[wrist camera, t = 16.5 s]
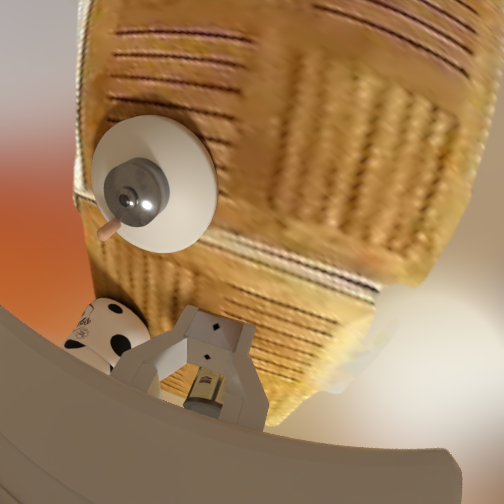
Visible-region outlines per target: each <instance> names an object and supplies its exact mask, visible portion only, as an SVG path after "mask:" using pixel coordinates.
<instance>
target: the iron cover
mask: <svg viewBox="0 0 504 504" xmlns="http://www.w3.org/2000/svg"><path fill="white" fill-rule="evenodd" d="M104 197H105V201H106V204H107V206H108V208H109V210H110V211H111V213H112V214H113V215H114V216H115V217H116V218H117V219H118V220H119V221H120V222H122V223H124V224H125V225H128V226H131V227H143V226H146V225H147V224H149V223H150V222H151V221H152V220H153V219H154V218H155V217H157V216H158V215H159V214H160V213H161V212H162V211H163V210H164V209H165V208H166V206H167V204H168V201H169V197H170V188H169V183H168V180H167V178H166V176H165V174H164V172H163V171H162V169H161V168H160V167H159V166H158V165H157V164H156V163H154V162H153V161H151V160H149V159H146V158H141V157H136V158H132V159H130V160H128V161H126V162H124V163H122V164H120V165H118V166H116V167H115V168H113V169H112V170H111V171H110V172H109V173H108V174H107V176H106V178H105V181H104Z"/></svg>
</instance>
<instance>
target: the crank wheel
mask: <svg viewBox="0 0 504 504" xmlns="http://www.w3.org/2000/svg"><path fill="white" fill-rule="evenodd" d="M136 157H141V158H146V159H149V160H151V161H153V162H154V163H156V164H157V165H158V166H159V167H160V168H161V169H162V171H163V172H164V174H165V176H166V178H167V180H168V183H169V188H170V197H169V201H168V204H167V206H166V208H165V209H164V210H163V211H162V212H161V213H160V214H159V215H158V216H157V217H155V218H154V219H153V220H152V221H151V222H150V223H149V224H147V225H146V226H143V227H131V226H128V225H125V224H124V223H122V222H120V221H119V220H118V219H117V218H116V217H115V216H114V215H113V214H112V213H111V211H110V210H109V208H108V206H107V204H106V201H105V197H104V181H105V178H106V176H107V174H108V173H109V172H110V171H111V170H112V169H113V168H115V167H116V166H118V165H120V164H122V163H124V162H126V161H128V160H130V159H132V158H136ZM91 181H92V188H93V193H94V196H95V199H96V202H97V204H98V206H99V209H100V210H101V212H102V214H103V216H104V217H105V219H106V220H107V222H108V223H106V224H105V225H104V226H103V227H101V228H100V229H99V230H98V231H97V236H98V238H99V239H100V240H102V241H106V240H107V239H108V238H109V237H110V236H111V235H113V234H114V233H115V232H117V233H118V234H119V235H120V236H122V237H123V238H124V239H125V240H127V241H128V242H130V243H131V244H133V245H135V246H137V247H139V248H142V249H144V250H148V251H151V252H157V253H170V252H176V251H180V250H182V249H185V248H187V247H189V246H190V245H192V244H193V243H194V242H195V241H197V240H198V239H199V238H200V236H201V235H202V234H203V233H204V231H205V230H206V229H207V227H208V226H209V224H210V223H211V221H212V219H213V217H214V214H215V212H216V208H217V204H218V196H219V187H218V178H217V173H216V170H215V166H214V163H213V161H212V159H211V157H210V154H209V153H208V151H207V149H206V148H205V146H204V145H203V144H202V142H201V141H200V140H199V138H198V137H197V136H196V135H195V134H194V133H193V132H192V131H191V130H189V129H188V128H187V127H185V126H184V125H182V124H181V123H179V122H177V121H175V120H173V119H170V118H168V117H164V116H159V115H140V116H137V117H133V118H129V119H126V120H123V121H121V122H119V123H117V124H116V125H114V126H113V127H111V128H110V129H109V130H108V131H107V132H106V133H105V134H104V136H103V137H102V138H101V140H100V141H99V143H98V145H97V147H96V150H95V152H94V156H93V160H92V166H91Z"/></svg>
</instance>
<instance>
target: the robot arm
mask: <svg viewBox="0 0 504 504" xmlns="http://www.w3.org/2000/svg"><path fill="white" fill-rule="evenodd" d="M255 330H256V326H255V325H252V324H248V323H244V322H242V321H239V320H235V319H232V318H228V317H225V316H221V315H218V314H215V313H212V312H209V311H206V310H203V309H201V308H197V307H195V306H192V305H189V304H188V305H187V306H186V307H185V309H184V310H183V312H182V314H181V316H180V317H179V319H178V321H177V323H176V324H175V326H174V328H173V330H172V332H171V331H166V332H164V333H162V334H160V335H158V336H156V337H154V338H152V339H150V340H148V341H146V342H144V343H142V344H140V345H138V346H136V347H134V348H132V349H130V350H128V351H125V352H124V353H123V354H122V356H121V357H120V359H119V360H118V362H117V364H116V365H115V367H114V368H113V370H112V372H111V373H110V375H107V374H105V373H104V372H102V371H100V370H98V369H96V368H94V367H92V366H91V365H89V364H87V363H85V362H83V361H82V360H80V359H78V358H76V357H75V356H73V355H71V354H70V353H68V352H66V351H65V350H63V349H62V348H60V347H58V346H56V345H55V344H54V343H52V342H51V341H49V340H47V339H46V338H45V337H43V336H42V335H40V334H39V333H37V332H36V331H34V330H33V329H32V328H30V327H29V326H27V325H26V324H25V323H23V322H22V321H20V320H19V319H18V318H17V317H15V316H14V315H13V314H11V313H10V312H9V311H7V310H6V309H5V308H4V307H2V306H1V305H0V504H461V498H462V472H461V469H460V467H459V465H458V464H457V462H456V461H455V459H454V458H453V457H452V455H451V454H450V452H449V451H448V450H447V449H444V448H431V449H380V448H364V447H351V446H342V445H333V444H325V443H318V442H312V441H306V440H300V439H294V438H289V437H284V436H279V435H274V434H270V433H266V432H263V428H264V425H265V420H266V416H267V412H268V408H269V402H268V399H267V397H266V395H265V392H264V390H263V387H262V385H261V382H260V380H259V377H258V375H257V372H256V369H255V367H254V364H253V362H252V359H251V358H249V357H248V354H249V351H250V347H251V344H252V340H253V337H254V334H255ZM187 362H188V363H191V364H194V365H197V366H200V367H203V368H206V369H209V370H212V371H215V372H218V373H221V374H224V375H225V379H226V383H227V387H228V390H229V395H227V396H226V398H225V401H224V404H223V406H222V409H221V412H220V415H219V417H218V419H214V418H211V417H208V416H205V415H202V414H199V413H196V412H193V411H191V410H188V409H185V408H182V407H180V406H177V405H174V404H172V403H169V402H167V401H164V400H161V398H162V394H161V389H160V383H159V382H160V381H161V380H163V379H164V378H166V377H167V376H169V375H170V374H172V373H173V372H175V371H176V370H178V369H179V368H181V367H182V366H184V365H185V364H187Z"/></svg>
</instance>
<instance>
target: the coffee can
mask: <svg viewBox="0 0 504 504" xmlns="http://www.w3.org/2000/svg"><path fill="white" fill-rule="evenodd" d="M227 395H229V390H228V387H227V383H226V379H225V375H224V374H221V373H218V372H215V371H212V370H209V369H206V368H203V367H199V370H198V372H197V375H196V377H195V379H194V382H193V384H192V387H191V389H190V391H189V394H188V396H187V399H186V400H185V402H184V404H183V406H184V408H185V409H188V410H191V411H193V412H196V413H199V414H202V415H205V416H208V417H211V418H214V419H218V417H219V415H220V412H221V409H222V406H223V404H224V401H225V398H226V396H227Z"/></svg>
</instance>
